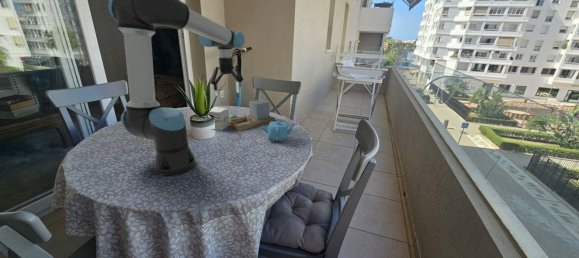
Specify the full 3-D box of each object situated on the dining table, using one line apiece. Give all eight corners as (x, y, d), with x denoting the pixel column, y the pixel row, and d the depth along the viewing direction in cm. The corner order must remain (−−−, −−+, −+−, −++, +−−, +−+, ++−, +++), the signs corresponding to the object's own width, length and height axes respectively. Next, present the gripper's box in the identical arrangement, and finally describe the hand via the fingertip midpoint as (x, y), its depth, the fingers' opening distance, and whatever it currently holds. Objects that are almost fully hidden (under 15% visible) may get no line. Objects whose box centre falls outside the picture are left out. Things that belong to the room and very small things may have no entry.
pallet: (274, 123, 148) (274, 117, 147) (239, 132, 132) (239, 126, 131) (261, 117, 158) (261, 112, 156) (227, 125, 142) (226, 119, 141)
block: (269, 120, 148) (269, 102, 144) (257, 124, 143) (256, 104, 138) (261, 117, 154) (261, 99, 150) (249, 120, 148) (249, 101, 144)
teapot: (259, 144, 119) (259, 125, 116) (262, 133, 132) (262, 116, 129) (295, 145, 119) (296, 126, 115) (295, 134, 132) (296, 117, 129)
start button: (236, 120, 148) (235, 115, 147) (230, 121, 146) (229, 117, 145) (232, 118, 151) (232, 114, 150) (227, 119, 148) (226, 115, 147)
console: (239, 121, 148) (239, 117, 147) (229, 124, 144) (229, 119, 143) (233, 118, 153) (233, 114, 152) (223, 121, 149) (223, 116, 148)
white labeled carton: (208, 130, 134) (206, 110, 130) (217, 125, 142) (215, 106, 138) (221, 132, 132) (220, 112, 128) (229, 127, 140) (228, 107, 135)
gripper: (241, 55, 144) (243, 90, 152) (201, 57, 129) (205, 96, 137) (248, 56, 139) (249, 92, 147) (207, 58, 124) (211, 98, 132)
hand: (228, 94), depth 142 cm, fingers open, 13 cm apart
